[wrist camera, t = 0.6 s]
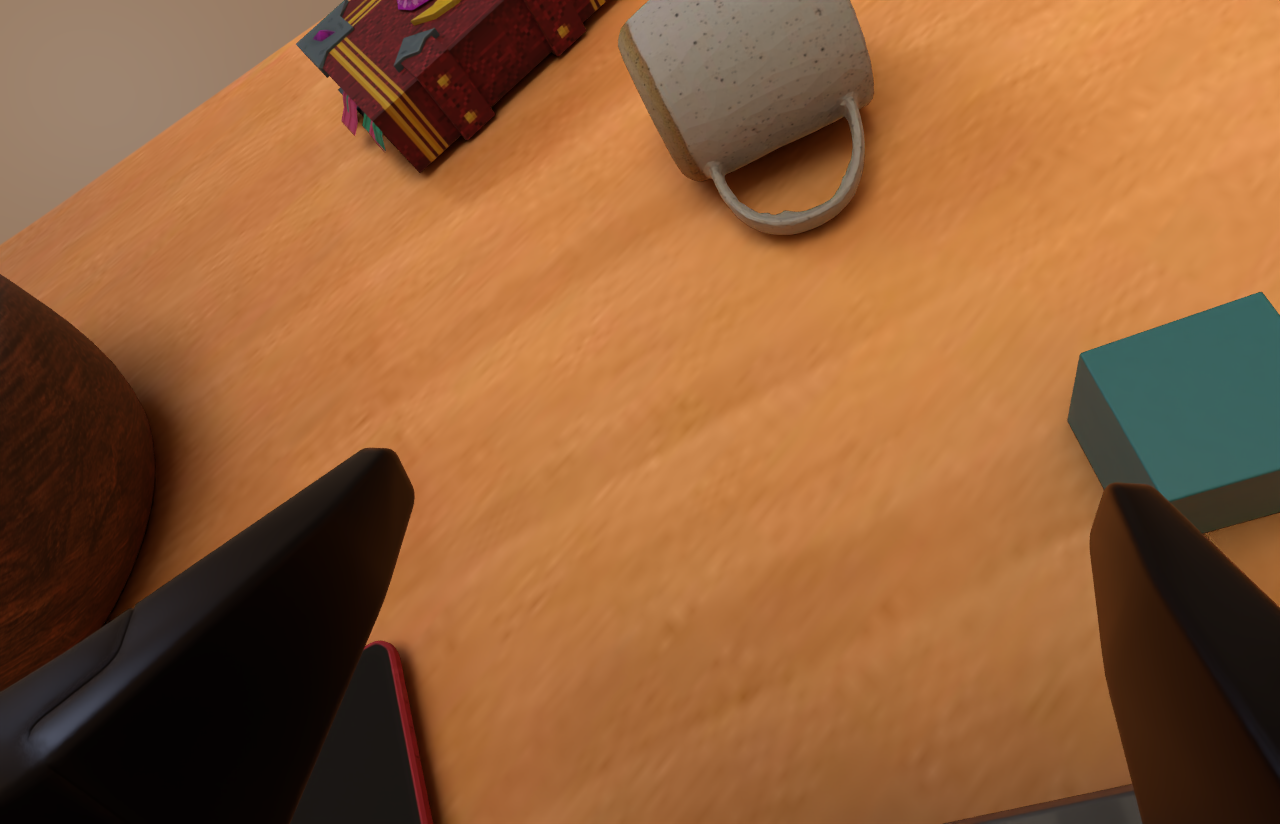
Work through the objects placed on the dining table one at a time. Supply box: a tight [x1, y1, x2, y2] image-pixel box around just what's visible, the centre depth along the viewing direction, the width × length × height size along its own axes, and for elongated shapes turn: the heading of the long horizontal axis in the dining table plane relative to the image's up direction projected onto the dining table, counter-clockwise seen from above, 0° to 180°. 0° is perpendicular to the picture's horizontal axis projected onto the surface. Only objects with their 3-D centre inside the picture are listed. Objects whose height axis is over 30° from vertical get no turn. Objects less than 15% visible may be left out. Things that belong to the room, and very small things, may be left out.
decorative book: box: [296, 0, 607, 173], centre depth 43 cm, size 11×16×5 cm
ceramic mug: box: [618, 0, 874, 235], centre depth 30 cm, size 11×8×8 cm
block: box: [1068, 292, 1280, 533], centre depth 21 cm, size 4×4×4 cm
